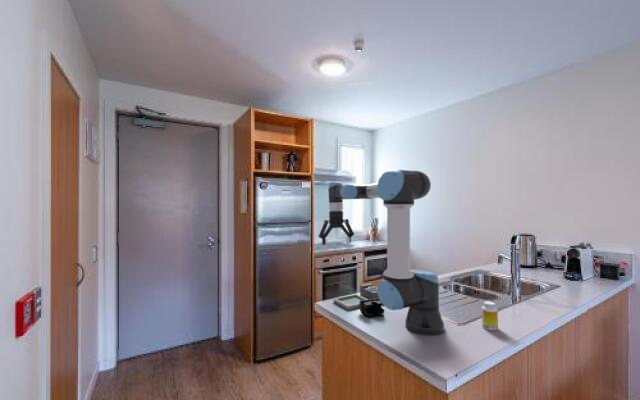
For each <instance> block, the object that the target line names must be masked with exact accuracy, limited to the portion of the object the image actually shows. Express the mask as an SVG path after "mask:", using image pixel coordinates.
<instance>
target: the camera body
mask: <svg viewBox="0 0 640 400" xmlns="http://www.w3.org/2000/svg"><path fill="white" fill-rule="evenodd" d="M359 286H360V287H359V295H360V296H362V297H364V298H366V299H368V300H369V299H377V298H379V296H378V293H377V286H374V283H371V282H369V283H364V284H360V285H359Z"/></svg>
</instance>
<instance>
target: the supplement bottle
mask: <svg viewBox="0 0 640 400" xmlns="http://www.w3.org/2000/svg"><path fill="white" fill-rule="evenodd" d="M481 324H482V328H484V329H486V330H487V331H497V330H498V329H499V318H498V308H497V307H496V303H495V302H493V301H487V300H486V301H484V302H483V306H481Z"/></svg>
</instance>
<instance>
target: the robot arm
mask: <svg viewBox="0 0 640 400" xmlns="http://www.w3.org/2000/svg"><path fill="white" fill-rule="evenodd" d="M431 187H432V183H431V180H430V178H429V176H428V175H427V174H426V173H424V172H423V171H419V170H408V169H407V170H405V169H390V170H386V171H385V172H383V173H382V174H381V175H380V177H379V179H378V180H377V182H376V183H375V182H374V183H367V184H351V183H345V184H343V183H342V181H333V182H332V181H331V182H329V183H328V190H327V191H328V211H329V212H328V215H329V216H328V217H329V219H328V220H327V219H324V220H323V225H322V228H321V230H320V232H319V234H318V238H320V239H321V244H322V246H323V251H324V252H328V238H327V237H328V235H329V234H330V232H331V231H332V230H333V229H337V228H338V229H341V230H342V232H344V233H345V235H346V236H345V241H346V242H345V245H346V249H347V250H351V243H352V237H353V236H355V232H354V231H353V229H352V227H351V225H350V222H349V221H350V220H349V218H344V211H343V210H344V206H343V204H344V203H343V200H372V199H381V200H383V202H382V203H383V204H382V205H383V206H384V207H385V208H386V209H387V213H386V215H387V216H386V219H387V222H386V223H387V224H386V228H387V229H386V230H387V231H386V234H387V235H386V236H387V237H386V249H387V250H386V254H387V255H386V269H385V270H384V271H383V275H382V277H383V278H382V279H380V281H378V283H377V285H376V287H377V293H378V296H379V299H380V301H381V302H382V304H383V305H384V307H385V308H386V309H388V310H389V311H397V310H399V311H400V310H403V309H407V308H408V310H407V313H406V314H407V315H406V317H405V319H404V320H405V327H406V328H407V329H408V330H410V332H414V333H415V334H420V335H425V336H435V335H440V334H442V333H444V331H445V323H444V321H443V318H442V314H441V312H440V295H439V294H440V292H439V291H440V290H439V289H440V288H439V287H440V286H439V284H440V283H439V277H438V274H437V273H435V272H432V271H429V270H428V271H427V270H423V269H422V270H421V269H411V264H410V263H411V255H410V254H411V252H410V251H411V209H412V208H413V207H414V205H415V200H419V199H423V198H425V197H426V196H427V195H428V194H429V192H430V191H431ZM327 226H328V228H327Z"/></svg>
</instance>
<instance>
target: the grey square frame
mask: <svg viewBox="0 0 640 400" xmlns="http://www.w3.org/2000/svg"><path fill="white" fill-rule="evenodd" d="M361 300H368V299H366V298H364V297H362V296H360V294H357V293H355V294H350V295H349V294H348V295H345V296H340V297H339V296H338V297H335V298H333V303H334V304H335V305H337V306H339V307H341V308H342V309H345V310H346V311H348V312H349V311H352V310H357V309H360V308H359V303H360V301H361Z"/></svg>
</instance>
